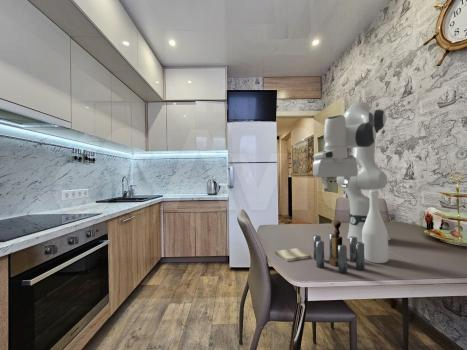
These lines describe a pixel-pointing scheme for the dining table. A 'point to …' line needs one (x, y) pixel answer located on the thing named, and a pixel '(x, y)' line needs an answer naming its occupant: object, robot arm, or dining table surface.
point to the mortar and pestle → (335, 244)
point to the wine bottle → (375, 233)
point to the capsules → (340, 253)
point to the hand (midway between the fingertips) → (335, 188)
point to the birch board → (292, 254)
